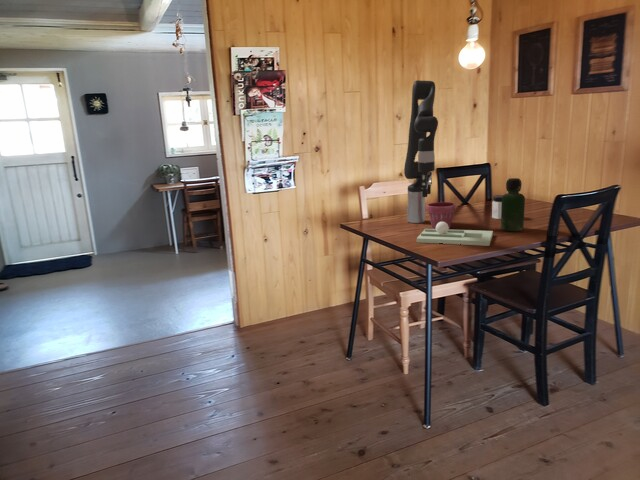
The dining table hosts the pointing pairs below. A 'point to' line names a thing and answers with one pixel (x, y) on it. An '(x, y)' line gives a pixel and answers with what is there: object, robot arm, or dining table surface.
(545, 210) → the dining table surface
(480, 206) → the dining table surface
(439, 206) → the plant pot
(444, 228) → the ball
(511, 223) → the dark green tall piece
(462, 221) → the dining table surface
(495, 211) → the jar
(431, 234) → the putting mat
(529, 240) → the dining table surface
